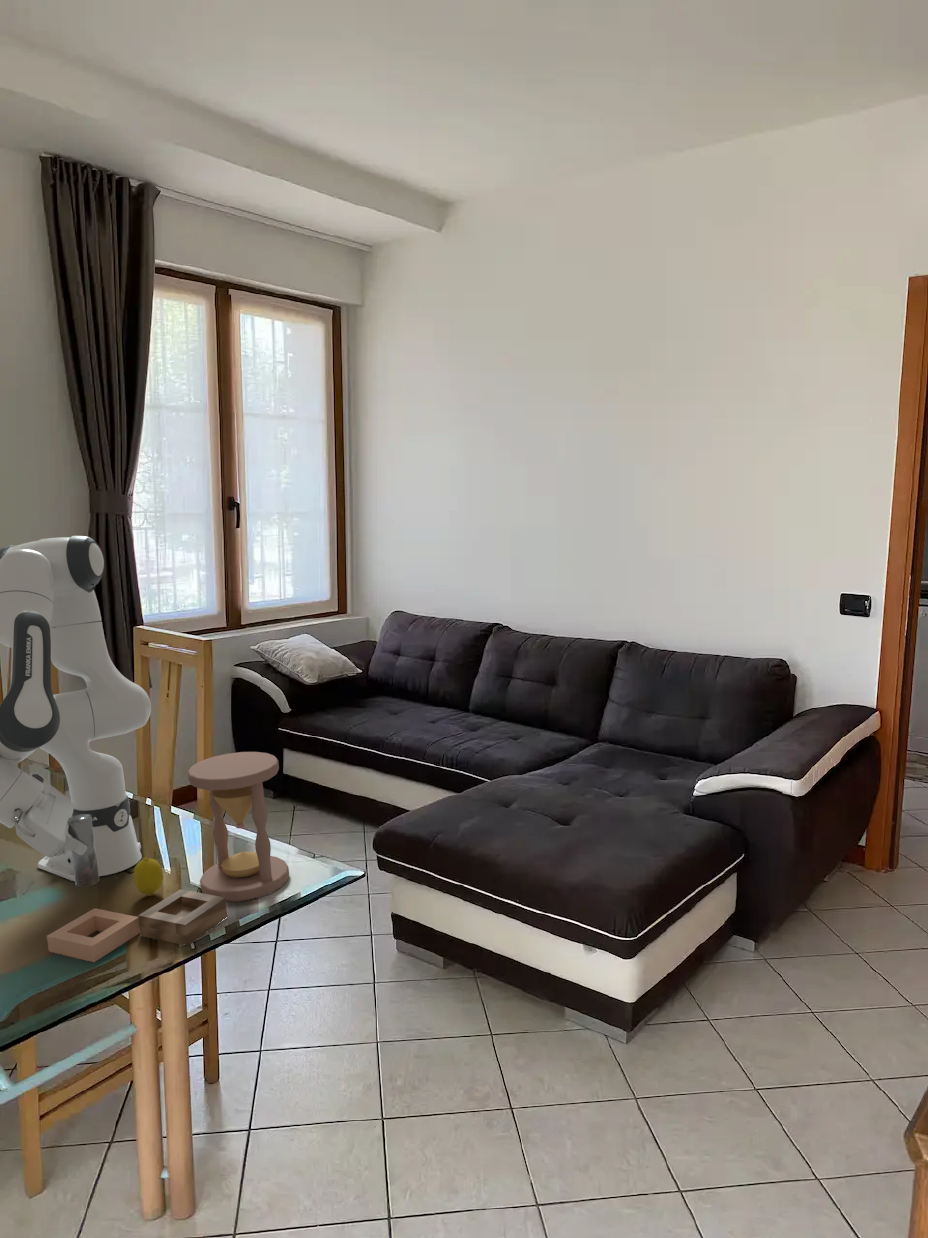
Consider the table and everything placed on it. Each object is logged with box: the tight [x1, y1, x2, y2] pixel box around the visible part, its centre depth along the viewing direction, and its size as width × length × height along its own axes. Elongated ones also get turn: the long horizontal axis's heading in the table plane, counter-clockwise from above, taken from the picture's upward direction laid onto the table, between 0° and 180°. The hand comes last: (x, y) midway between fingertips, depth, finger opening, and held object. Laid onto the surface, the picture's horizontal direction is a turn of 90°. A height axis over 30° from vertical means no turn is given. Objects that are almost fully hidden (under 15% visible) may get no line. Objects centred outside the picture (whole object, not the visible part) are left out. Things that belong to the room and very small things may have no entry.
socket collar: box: [46, 907, 140, 963], centre depth 168 cm, size 11×11×3 cm
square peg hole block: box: [137, 889, 229, 946], centre depth 172 cm, size 11×11×4 cm
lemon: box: [133, 856, 164, 896], centre depth 185 cm, size 6×6×8 cm
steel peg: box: [67, 814, 100, 888], centre depth 166 cm, size 4×4×12 cm
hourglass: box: [187, 751, 290, 903], centre depth 187 cm, size 18×18×25 cm
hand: (86, 845), depth 166 cm, fingers closed on steel peg, 4 cm apart
